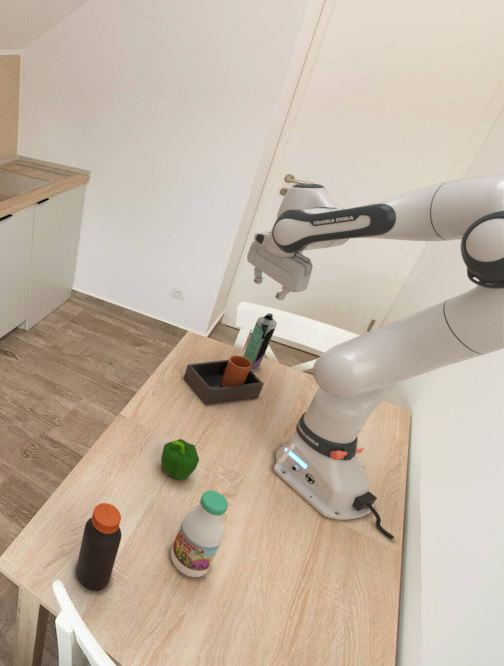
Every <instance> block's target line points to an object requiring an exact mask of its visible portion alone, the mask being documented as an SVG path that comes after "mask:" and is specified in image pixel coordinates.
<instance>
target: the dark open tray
mask: <svg viewBox="0 0 504 666" xmlns="http://www.w3.org/2000/svg"><path fill="white" fill-rule="evenodd" d="M228 361H229V359H221V360H214V361H206V362H197V363H189V364H187V366H186V369H185V372H184V375H183V379H184V381H185V382H186V383H187V384H188V385H189V387H190V388H191V389H192V390H193V392H194V393H195V394H196V396H197V397H198V398H199V399H200V400H201V401H202V403H203V404H204V405H205V406H209V405H216V404H223V403H230V402H231V403H232V402H237V401H244V400H251V399H259V396H260V395H261V393H262V389H263V388H264V385H265V383H264V382H263V381H262V380H261V379H260V378H259V377H258V376H257V375H256V374H254V373H253V371H249V373H248V376H247V378H246V381H245V383H244V385H237V386H229V387H223V386H222V384H221V380H222V378H223V375H224V372H225V369H226V367H227V364H228Z"/></svg>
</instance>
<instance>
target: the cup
mask: <svg viewBox="0 0 504 666" xmlns="http://www.w3.org/2000/svg"><path fill="white" fill-rule="evenodd" d="M228 360H229V361H228V364H227V367H226V369H225V372H224V375H223V378H222V380H221V384H222V386H223V387H229V386H237V385H244V383H245V381H246V378H247V376H248V373H249V371H250V368H251V366H252V363H251V362H250V361H249V360H248V359H247V358H245V357H243V356H242V355H232V356H229V359H228Z"/></svg>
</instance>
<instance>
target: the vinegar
mask: <svg viewBox="0 0 504 666" xmlns="http://www.w3.org/2000/svg"><path fill="white" fill-rule="evenodd" d="M121 520H122V515H121V511H120V510H119V509H118V508H117V507H116V506H115V505H114V504H112V503H111V504H110V503H108V502H102V503H99V504H97V505H96V506H95V507H94V508H93V510H92V515H91V517H90V518H88V520H87V521H86V522H85V525H84V528H83V534H82V539H81V544H80V549H79V554H78V559H77V563H76V569H75V574H76V578H77V580H78V582H79V584H80V585H81V586H82V587H83V588H85V589H86V590H89V591H91V592H99V591H103V590H104V589H105V588H106V587H107V586H108V585H109V583H110V582H111V581H110V580H111V577H112V574H113V570H114V566H115V563H116V559H117V555H118V552H119V548H120V545H121V542H122V541H121V540H122V535H123V534H122V530H121V528H120V524H121Z"/></svg>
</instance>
